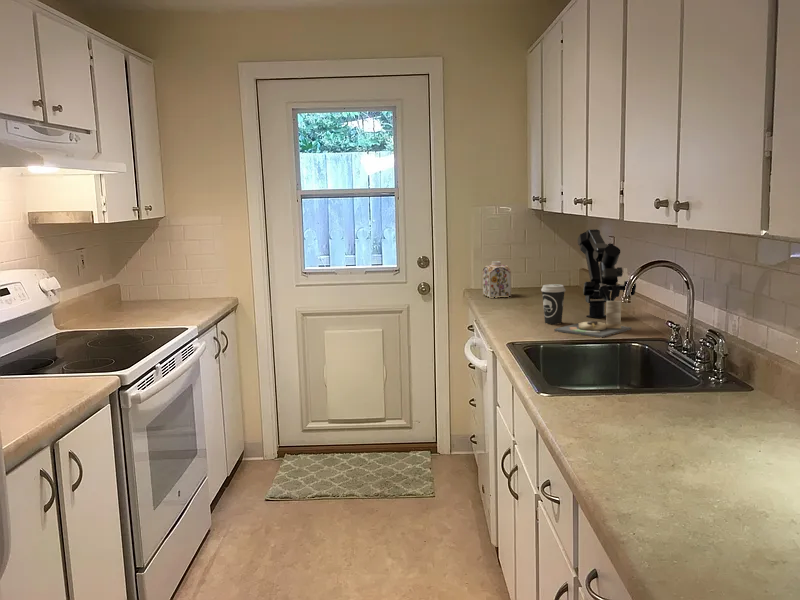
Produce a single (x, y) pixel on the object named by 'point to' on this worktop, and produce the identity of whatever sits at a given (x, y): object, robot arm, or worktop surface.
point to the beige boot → (611, 318)
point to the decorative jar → (496, 280)
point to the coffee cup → (553, 303)
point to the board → (597, 333)
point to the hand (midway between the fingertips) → (611, 306)
